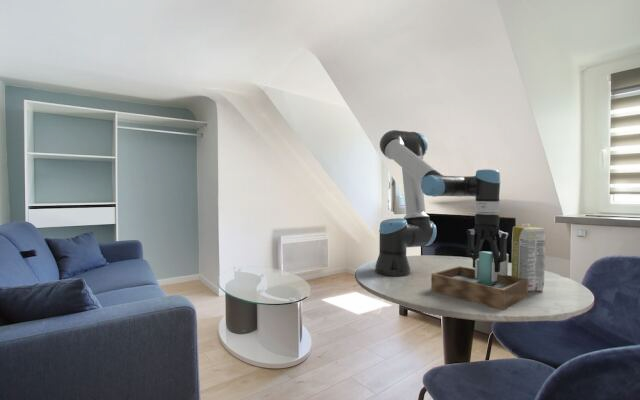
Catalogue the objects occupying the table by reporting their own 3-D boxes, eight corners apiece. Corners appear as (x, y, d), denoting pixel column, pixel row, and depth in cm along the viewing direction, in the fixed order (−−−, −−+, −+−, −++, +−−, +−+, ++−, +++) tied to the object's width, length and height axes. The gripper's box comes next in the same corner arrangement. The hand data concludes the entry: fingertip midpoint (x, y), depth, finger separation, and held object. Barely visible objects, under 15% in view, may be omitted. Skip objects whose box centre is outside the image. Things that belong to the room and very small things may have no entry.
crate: (431, 290, 113) (431, 273, 113) (459, 281, 126) (459, 266, 126) (503, 310, 95) (503, 290, 95) (527, 296, 107) (528, 279, 107)
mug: (510, 287, 118) (511, 255, 117) (491, 286, 119) (492, 254, 119) (500, 280, 128) (501, 250, 127) (482, 279, 129) (483, 250, 129)
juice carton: (532, 285, 121) (533, 222, 120) (547, 292, 113) (549, 225, 112) (508, 285, 121) (509, 222, 120) (521, 291, 113) (523, 224, 112)
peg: (481, 289, 115) (482, 250, 115) (494, 292, 112) (495, 252, 111) (476, 291, 112) (476, 252, 112) (489, 294, 109) (489, 254, 108)
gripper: (457, 212, 116) (455, 275, 116) (510, 215, 102) (509, 287, 102) (466, 211, 121) (465, 272, 121) (519, 214, 107) (518, 283, 107)
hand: (485, 279), depth 112 cm, fingers open, 5 cm apart
